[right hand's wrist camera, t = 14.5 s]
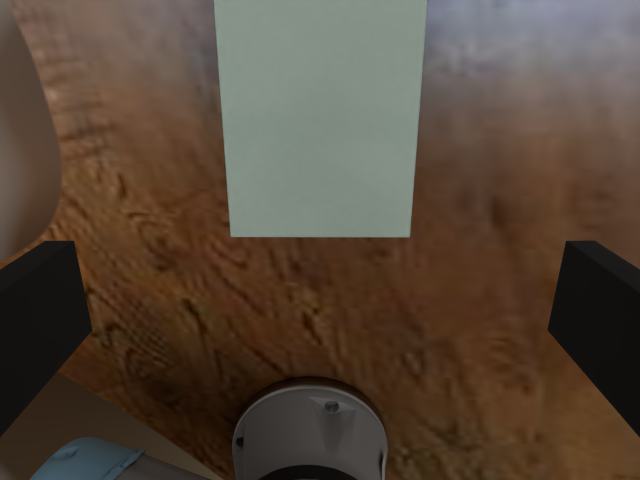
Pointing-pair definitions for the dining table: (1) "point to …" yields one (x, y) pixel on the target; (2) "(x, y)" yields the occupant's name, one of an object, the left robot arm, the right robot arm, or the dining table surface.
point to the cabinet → (320, 114)
